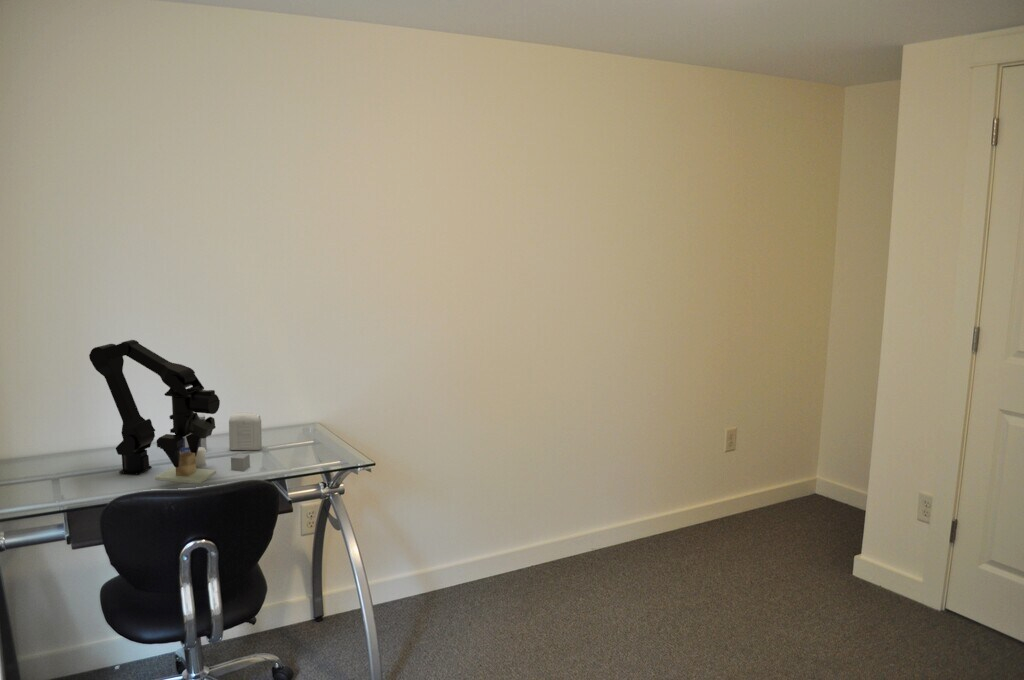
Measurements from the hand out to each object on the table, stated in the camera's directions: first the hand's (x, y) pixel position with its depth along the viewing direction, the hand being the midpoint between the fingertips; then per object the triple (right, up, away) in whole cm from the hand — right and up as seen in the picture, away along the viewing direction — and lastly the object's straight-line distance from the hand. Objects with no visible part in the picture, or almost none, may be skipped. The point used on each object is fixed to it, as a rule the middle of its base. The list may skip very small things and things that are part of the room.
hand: (185, 461), depth 223 cm
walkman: (-7, 0, +23) cm, 24 cm away
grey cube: (+13, -4, +9) cm, 16 cm away
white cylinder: (-1, -3, +11) cm, 11 cm away
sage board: (0, -4, +1) cm, 5 cm away
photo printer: (+8, 0, +27) cm, 28 cm away
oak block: (0, -4, +1) cm, 4 cm away
